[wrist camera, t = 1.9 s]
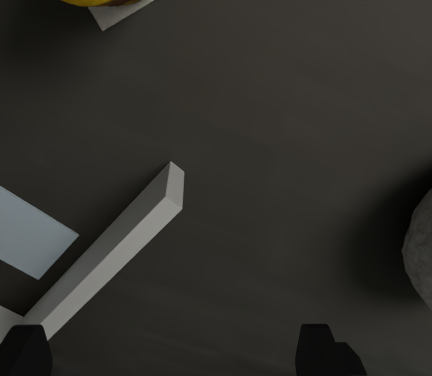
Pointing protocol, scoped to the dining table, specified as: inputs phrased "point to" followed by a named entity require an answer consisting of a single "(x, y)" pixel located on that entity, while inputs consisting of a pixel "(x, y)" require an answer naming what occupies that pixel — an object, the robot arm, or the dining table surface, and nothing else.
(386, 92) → the dining table surface
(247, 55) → the dining table surface
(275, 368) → the dining table surface
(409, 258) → the decorative shell
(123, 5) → the condiment
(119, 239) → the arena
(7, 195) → the pad
